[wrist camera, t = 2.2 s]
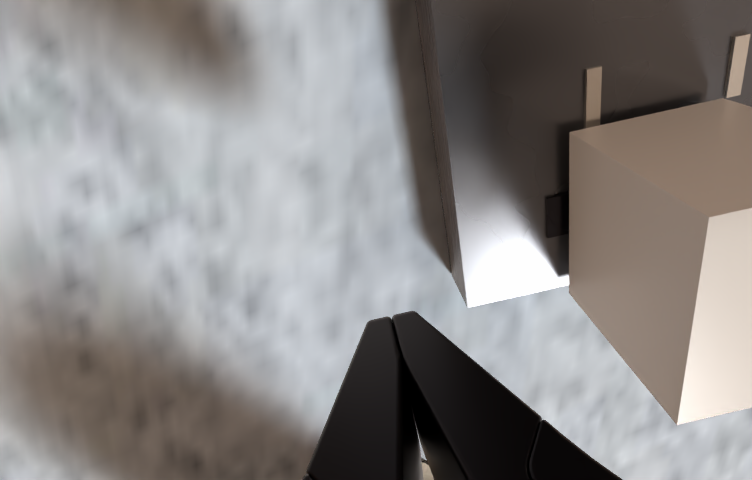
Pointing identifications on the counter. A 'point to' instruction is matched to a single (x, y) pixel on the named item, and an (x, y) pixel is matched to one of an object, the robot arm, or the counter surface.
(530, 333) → the counter surface
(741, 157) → the block
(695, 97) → the mixer panel
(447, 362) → the robot arm
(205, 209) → the counter surface
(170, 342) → the counter surface
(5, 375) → the counter surface
